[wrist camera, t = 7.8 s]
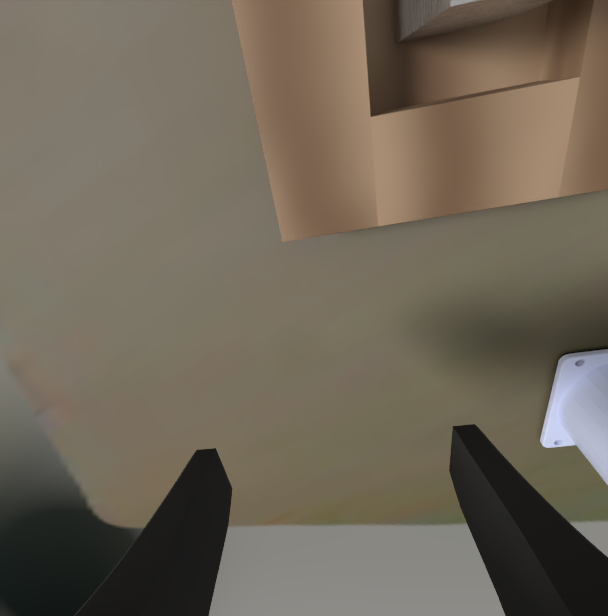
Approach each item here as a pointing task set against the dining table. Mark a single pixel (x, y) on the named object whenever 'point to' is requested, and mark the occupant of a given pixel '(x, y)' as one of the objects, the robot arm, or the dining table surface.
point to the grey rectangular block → (452, 15)
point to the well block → (423, 111)
